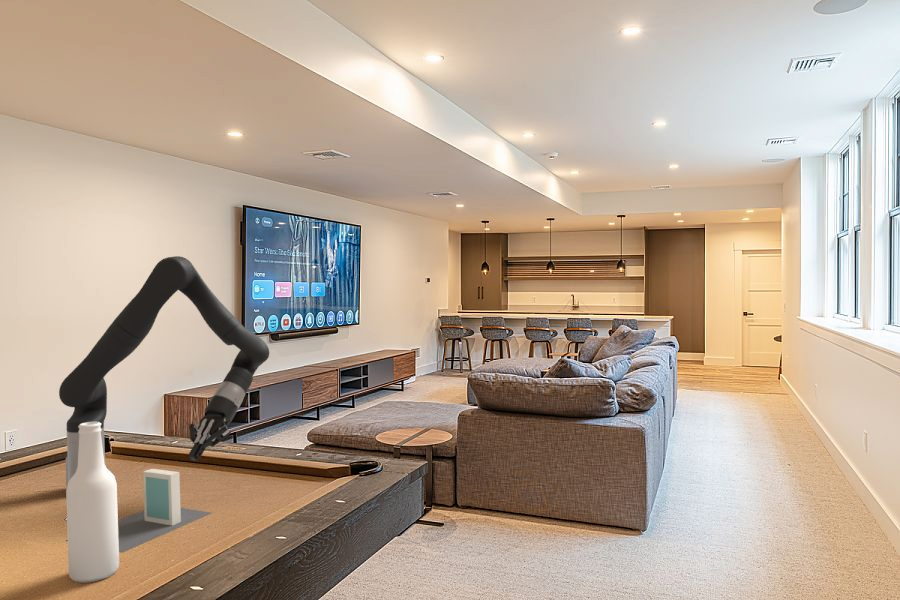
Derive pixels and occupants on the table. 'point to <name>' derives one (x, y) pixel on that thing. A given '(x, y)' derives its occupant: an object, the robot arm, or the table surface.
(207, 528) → the table surface
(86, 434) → the alcohol
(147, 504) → the tile
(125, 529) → the mat
